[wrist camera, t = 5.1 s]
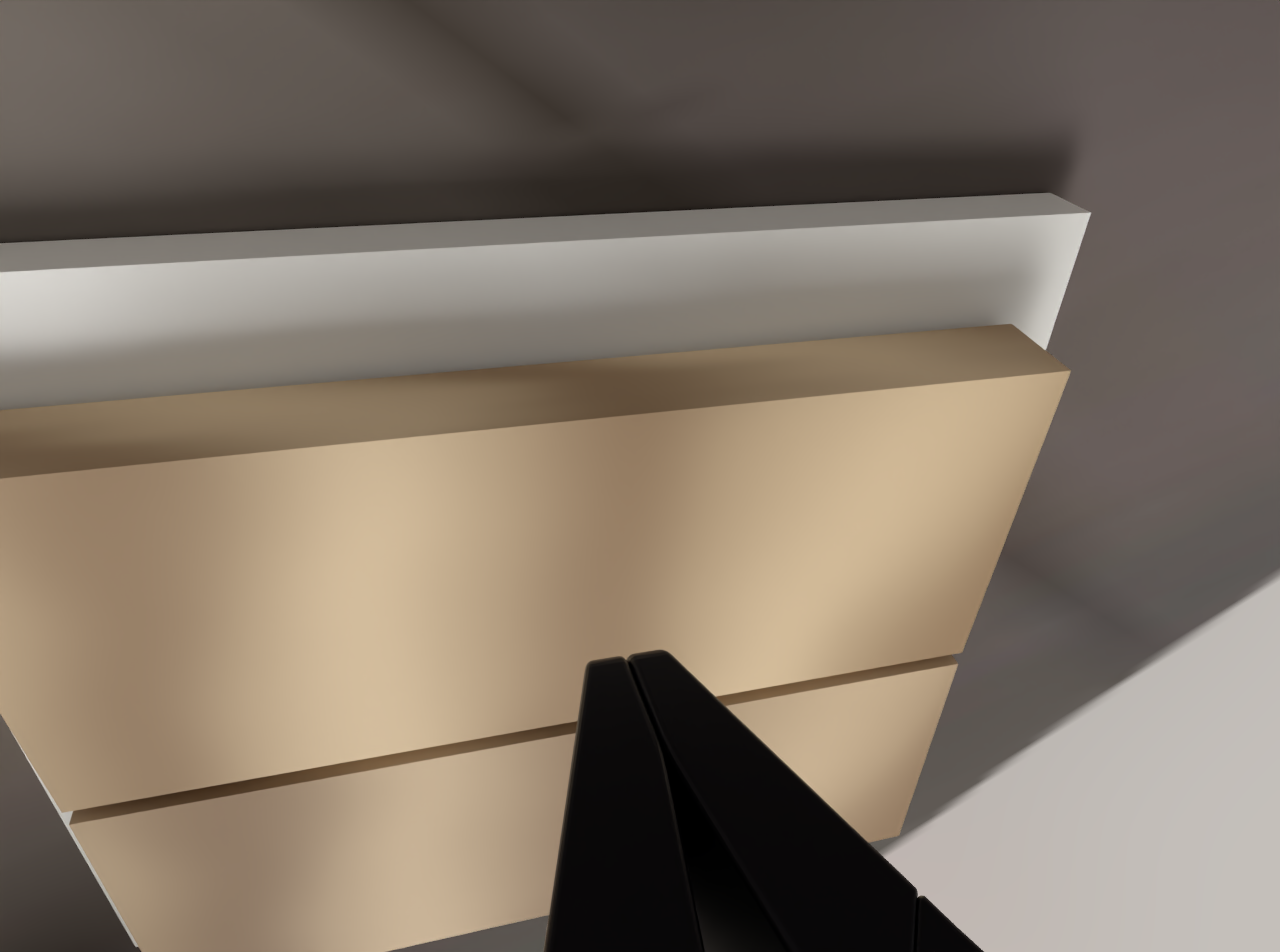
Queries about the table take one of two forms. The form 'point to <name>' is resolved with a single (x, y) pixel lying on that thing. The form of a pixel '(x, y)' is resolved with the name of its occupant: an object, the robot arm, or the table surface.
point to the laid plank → (456, 824)
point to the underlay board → (512, 295)
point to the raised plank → (490, 545)
